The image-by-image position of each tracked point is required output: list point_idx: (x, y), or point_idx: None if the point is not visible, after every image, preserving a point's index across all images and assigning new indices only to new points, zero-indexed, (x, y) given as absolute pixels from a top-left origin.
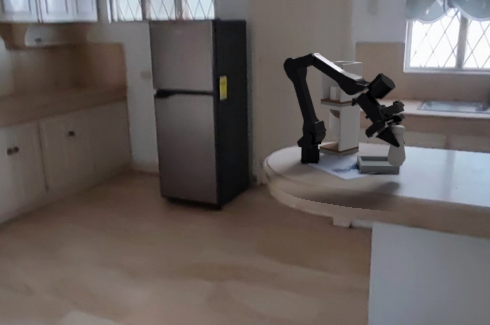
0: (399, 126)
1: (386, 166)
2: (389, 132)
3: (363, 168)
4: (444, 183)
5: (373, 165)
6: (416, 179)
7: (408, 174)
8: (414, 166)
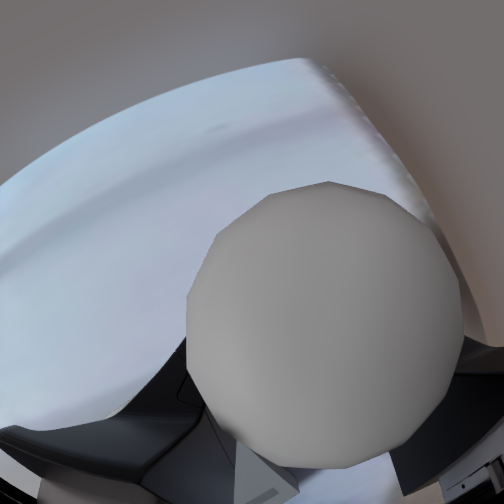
0: (403, 269)
1: None
2: (489, 350)
3: (290, 480)
4: (195, 168)
5: (259, 461)
6: None
7: (175, 321)
8: (69, 349)
